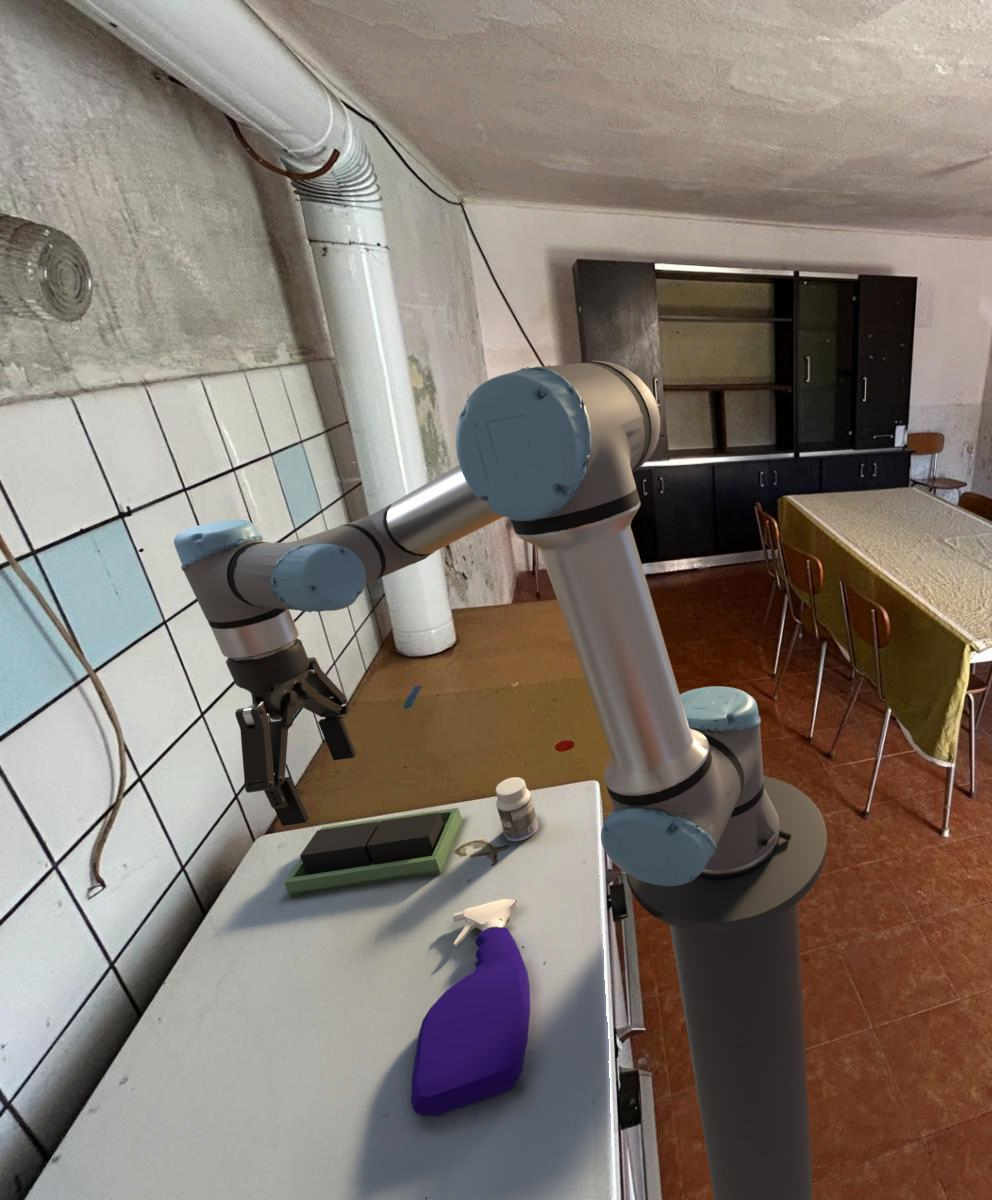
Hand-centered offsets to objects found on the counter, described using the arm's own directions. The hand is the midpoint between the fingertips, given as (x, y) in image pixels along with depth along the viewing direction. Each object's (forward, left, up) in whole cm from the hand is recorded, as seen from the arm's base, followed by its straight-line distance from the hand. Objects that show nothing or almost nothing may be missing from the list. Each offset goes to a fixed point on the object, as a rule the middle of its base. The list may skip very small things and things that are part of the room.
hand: (322, 788), depth 88 cm
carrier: (-4, 0, -13) cm, 14 cm away
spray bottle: (-24, +26, -13) cm, 37 cm away
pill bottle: (-23, -1, -13) cm, 26 cm away
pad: (-8, 0, -12) cm, 15 cm away
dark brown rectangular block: (0, 0, -12) cm, 12 cm away
